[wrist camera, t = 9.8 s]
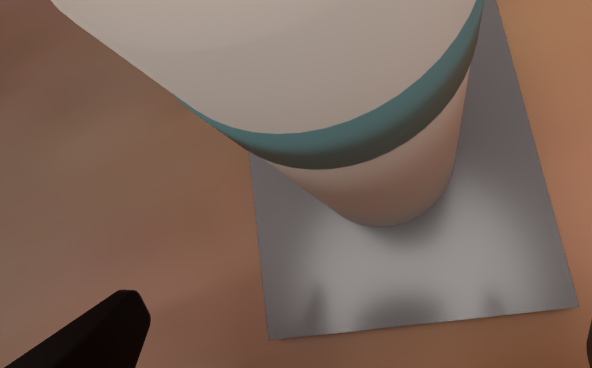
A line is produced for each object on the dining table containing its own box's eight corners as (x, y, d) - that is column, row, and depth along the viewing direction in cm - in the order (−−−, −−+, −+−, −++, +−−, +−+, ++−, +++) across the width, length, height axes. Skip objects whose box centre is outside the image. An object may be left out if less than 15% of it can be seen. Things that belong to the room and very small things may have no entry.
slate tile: (569, 304, 16) (579, 307, 15) (279, 336, 19) (269, 340, 18) (485, -9, 19) (488, -27, 18) (247, 58, 22) (237, 46, 21)
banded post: (488, 173, 17) (694, -248, 3) (358, 256, 17) (118, 173, 4) (399, 62, 18) (314, -483, 5) (285, 141, 19) (-37, -165, 6)
